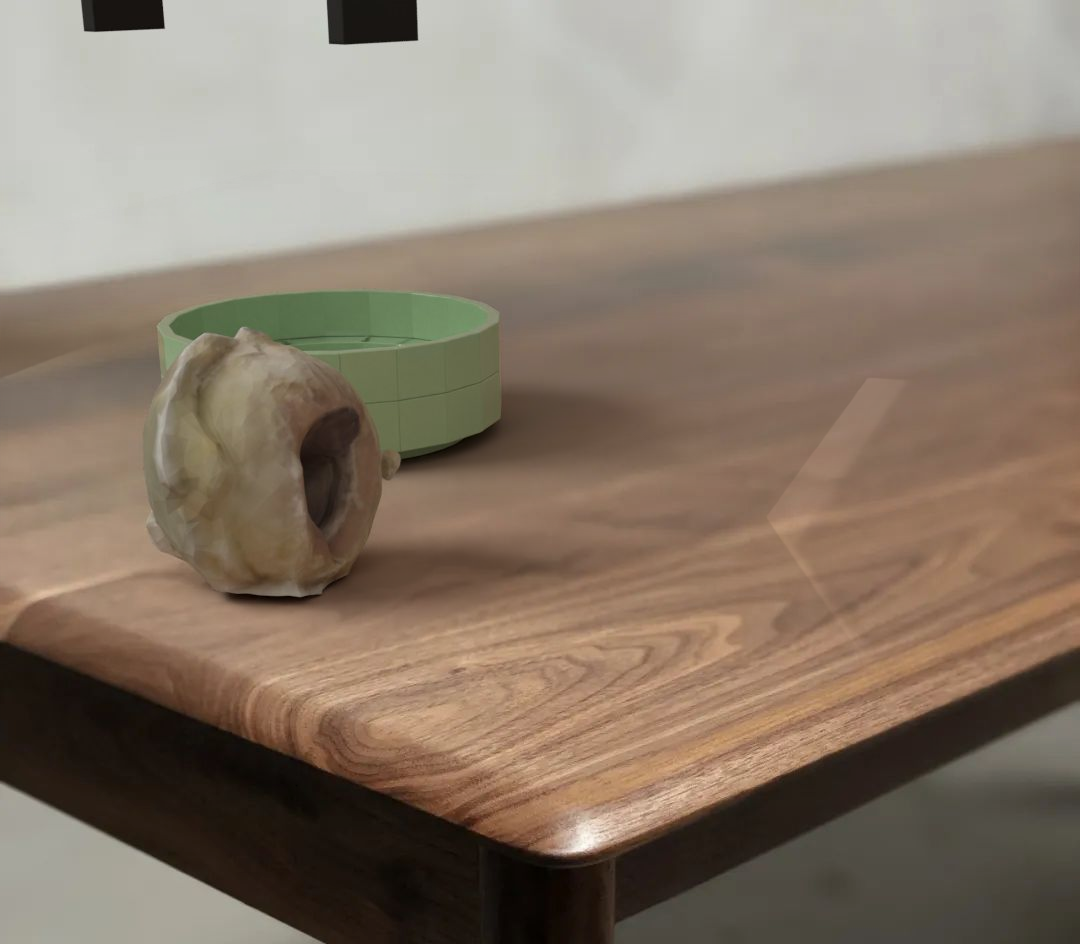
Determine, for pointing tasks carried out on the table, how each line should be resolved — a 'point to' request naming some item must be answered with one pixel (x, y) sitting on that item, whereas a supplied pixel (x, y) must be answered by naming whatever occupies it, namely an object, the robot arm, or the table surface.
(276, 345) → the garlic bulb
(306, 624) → the table surface
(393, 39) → the robot arm
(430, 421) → the bowl
